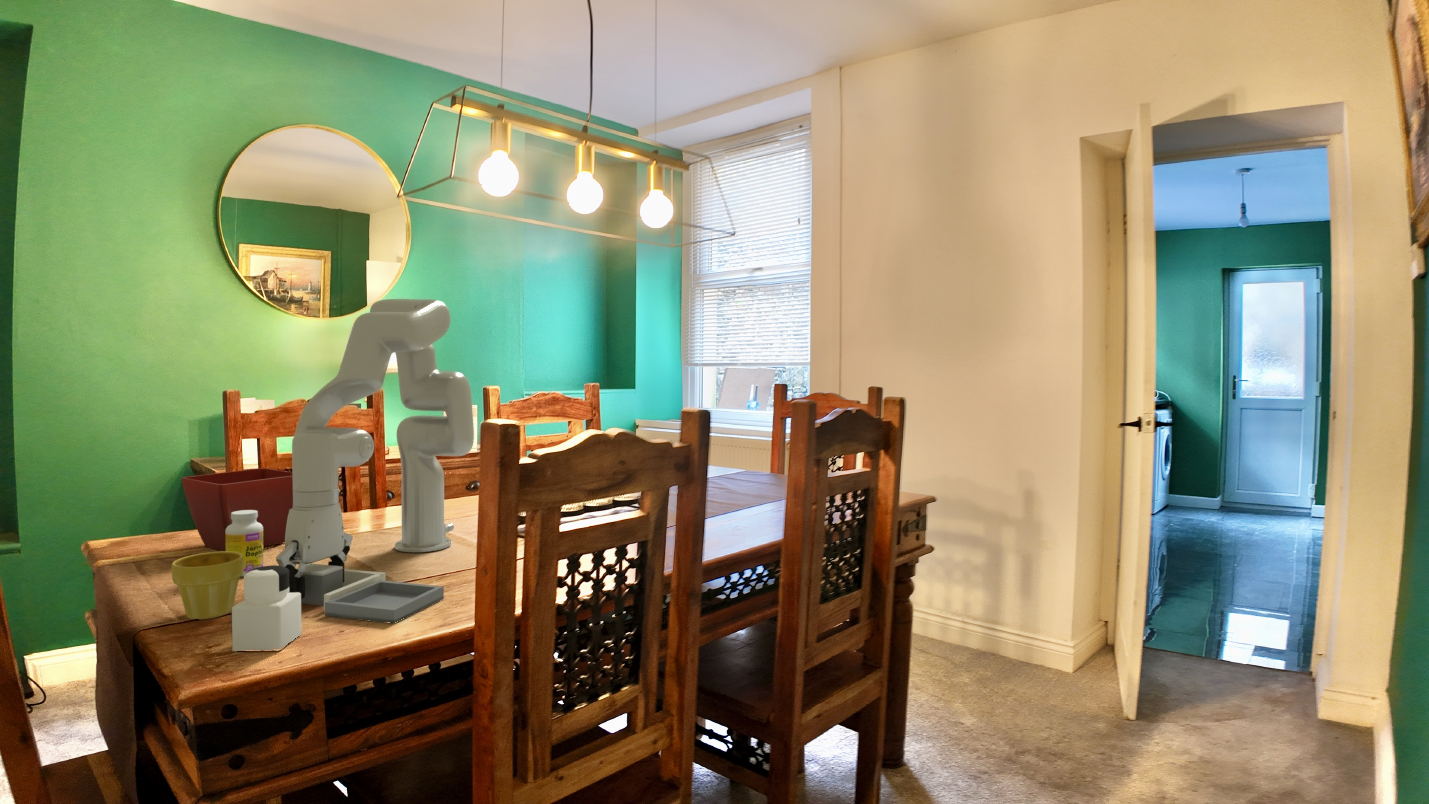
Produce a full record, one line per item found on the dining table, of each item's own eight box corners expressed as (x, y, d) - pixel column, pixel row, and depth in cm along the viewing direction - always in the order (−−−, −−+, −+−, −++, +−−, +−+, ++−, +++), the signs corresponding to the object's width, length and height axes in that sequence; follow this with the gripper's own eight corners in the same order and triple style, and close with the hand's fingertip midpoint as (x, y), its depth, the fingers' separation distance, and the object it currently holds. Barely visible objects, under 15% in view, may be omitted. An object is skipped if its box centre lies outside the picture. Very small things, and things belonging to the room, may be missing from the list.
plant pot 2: (180, 628, 122) (179, 570, 121) (166, 613, 129) (165, 558, 129) (252, 613, 130) (251, 558, 129) (235, 600, 137) (234, 547, 136)
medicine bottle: (256, 635, 119) (255, 562, 119) (302, 635, 120) (301, 562, 119) (231, 653, 112) (229, 575, 112) (280, 652, 113) (279, 574, 112)
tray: (379, 592, 142) (379, 580, 142) (443, 599, 139) (443, 586, 139) (325, 616, 129) (324, 602, 129) (394, 624, 126) (394, 610, 125)
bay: (324, 581, 149) (323, 566, 149) (385, 587, 145) (385, 572, 145) (263, 604, 135) (262, 587, 134) (329, 611, 131) (329, 595, 131)
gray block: (311, 594, 141) (311, 563, 141) (342, 597, 139) (342, 566, 139) (290, 602, 136) (290, 570, 136) (322, 606, 134) (322, 573, 134)
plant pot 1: (180, 547, 174) (179, 476, 173) (265, 532, 190) (264, 467, 189) (221, 559, 164) (220, 484, 163) (307, 542, 180) (306, 474, 179)
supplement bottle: (245, 578, 150) (244, 516, 149) (217, 576, 151) (216, 514, 151) (271, 569, 156) (270, 509, 156) (244, 567, 158) (243, 508, 157)
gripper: (333, 490, 146) (334, 575, 147) (260, 505, 129) (261, 602, 130) (366, 492, 144) (366, 578, 145) (295, 508, 127) (297, 606, 128)
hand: (317, 589), depth 138 cm, fingers open, 9 cm apart
